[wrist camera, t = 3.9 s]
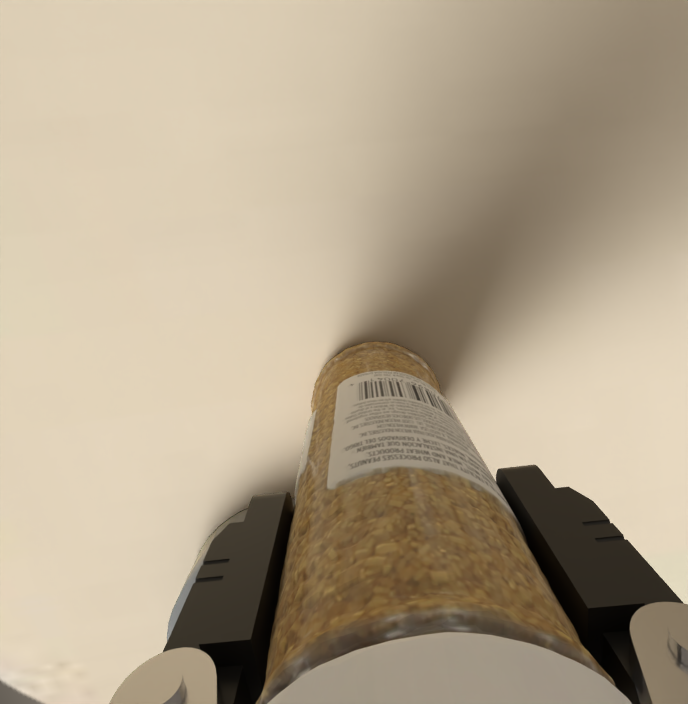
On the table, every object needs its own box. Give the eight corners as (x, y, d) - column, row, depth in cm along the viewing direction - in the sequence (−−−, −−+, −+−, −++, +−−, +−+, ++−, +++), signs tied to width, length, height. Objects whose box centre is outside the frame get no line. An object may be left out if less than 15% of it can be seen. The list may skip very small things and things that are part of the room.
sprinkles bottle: (289, 419, 16) (47, 1185, 3) (356, 312, 15) (395, 816, 2) (396, 479, 17) (554, 1331, 4) (467, 380, 16) (1023, 1097, 3)
